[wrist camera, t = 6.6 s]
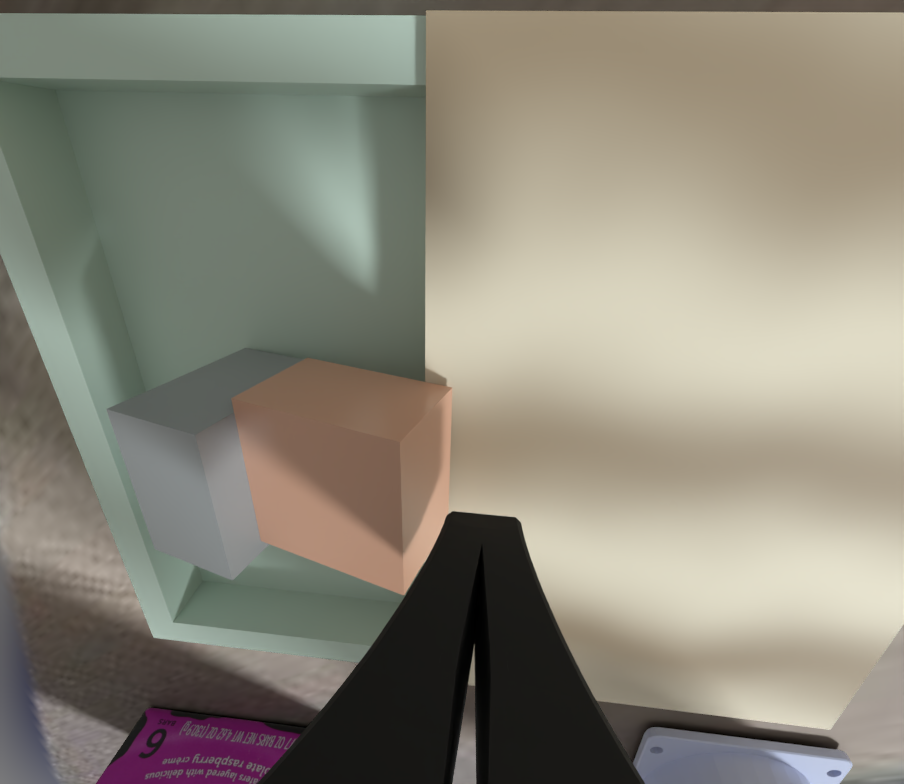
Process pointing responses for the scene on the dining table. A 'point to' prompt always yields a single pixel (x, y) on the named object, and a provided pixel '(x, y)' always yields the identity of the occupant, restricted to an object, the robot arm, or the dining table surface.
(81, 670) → the dining table surface
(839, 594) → the birch plate
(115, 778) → the candy bar box
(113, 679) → the dining table surface
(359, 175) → the sage tray
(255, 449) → the terracotta block
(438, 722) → the robot arm
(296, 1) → the dining table surface
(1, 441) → the dining table surface
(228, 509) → the slate-grey block
